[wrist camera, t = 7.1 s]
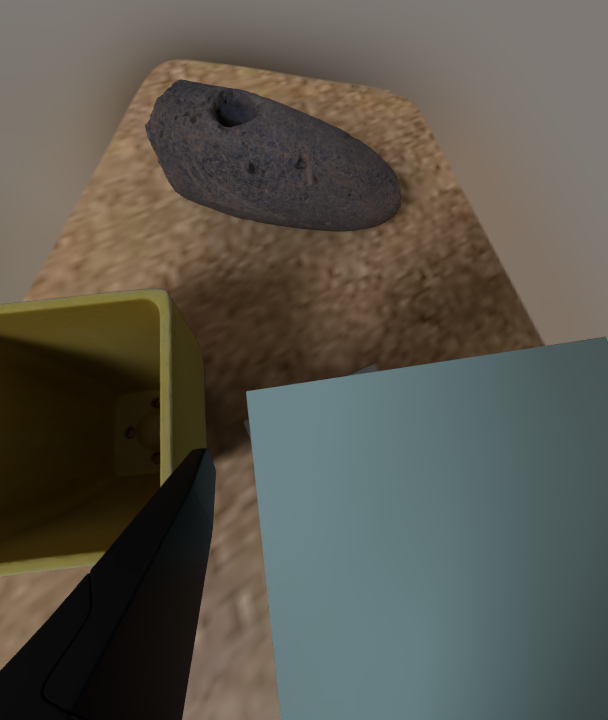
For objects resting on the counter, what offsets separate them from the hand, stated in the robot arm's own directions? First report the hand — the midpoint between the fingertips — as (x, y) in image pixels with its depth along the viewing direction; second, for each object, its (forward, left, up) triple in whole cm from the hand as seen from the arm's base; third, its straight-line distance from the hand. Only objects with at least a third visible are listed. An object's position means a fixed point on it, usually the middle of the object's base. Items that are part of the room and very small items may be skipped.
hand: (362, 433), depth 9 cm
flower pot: (+4, +9, -10) cm, 14 cm away
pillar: (-1, 0, -8) cm, 8 cm away
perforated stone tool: (+16, -4, -10) cm, 19 cm away
